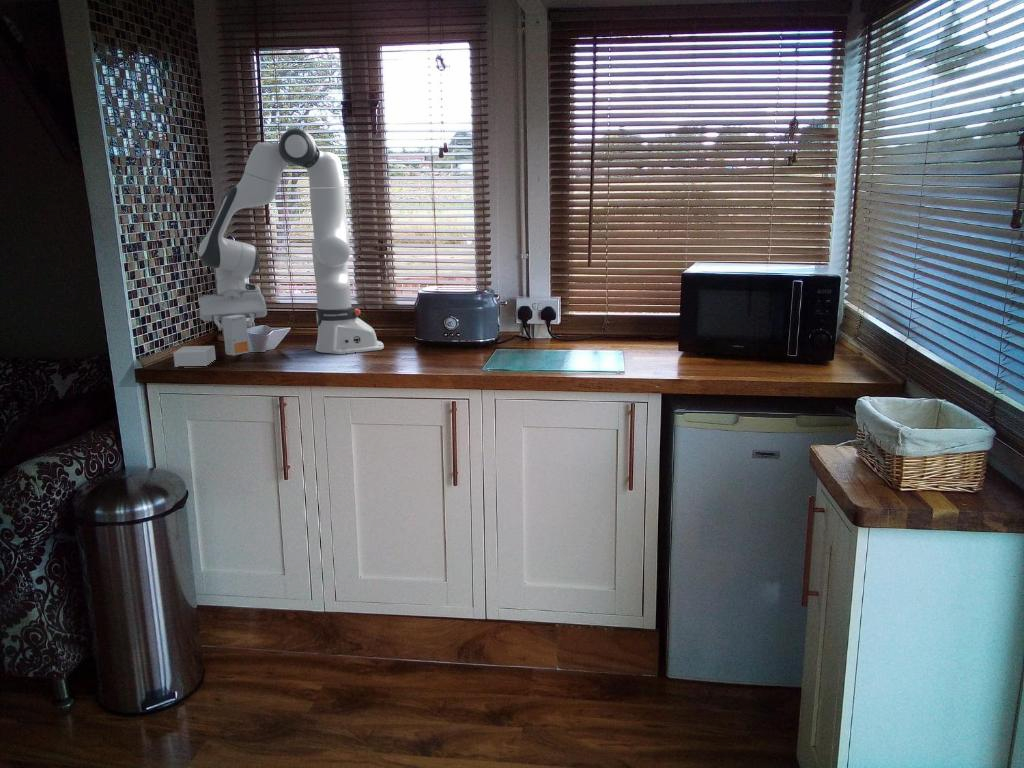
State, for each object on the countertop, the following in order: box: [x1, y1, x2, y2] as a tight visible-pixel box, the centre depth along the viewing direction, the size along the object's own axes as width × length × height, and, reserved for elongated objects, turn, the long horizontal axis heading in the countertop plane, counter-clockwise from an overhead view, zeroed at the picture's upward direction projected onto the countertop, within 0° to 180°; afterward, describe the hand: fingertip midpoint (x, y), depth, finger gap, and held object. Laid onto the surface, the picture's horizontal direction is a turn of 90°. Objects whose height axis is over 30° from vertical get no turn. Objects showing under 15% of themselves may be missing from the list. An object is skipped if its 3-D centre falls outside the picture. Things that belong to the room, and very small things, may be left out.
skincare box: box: [221, 314, 250, 356], centre depth 261 cm, size 6×4×12 cm
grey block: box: [173, 345, 217, 368], centre depth 260 cm, size 10×10×5 cm
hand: (235, 328), depth 261 cm, fingers closed on skincare box, 7 cm apart
